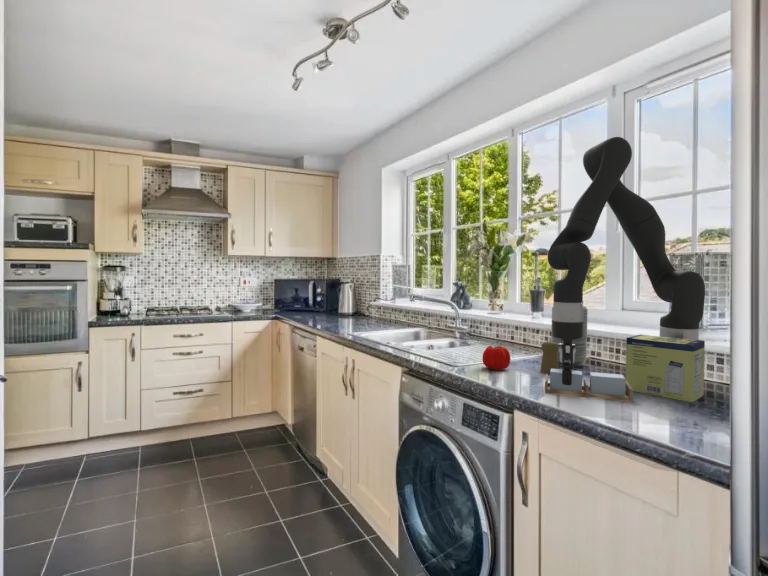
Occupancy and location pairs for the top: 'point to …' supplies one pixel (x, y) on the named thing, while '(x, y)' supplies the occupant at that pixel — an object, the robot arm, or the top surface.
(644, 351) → the protein box
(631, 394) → the rack
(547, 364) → the cork
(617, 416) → the top surface
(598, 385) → the pale blue sponge block
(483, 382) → the top surface
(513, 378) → the top surface
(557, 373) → the grey blue block
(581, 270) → the robot arm
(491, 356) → the tomato
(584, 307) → the vase
